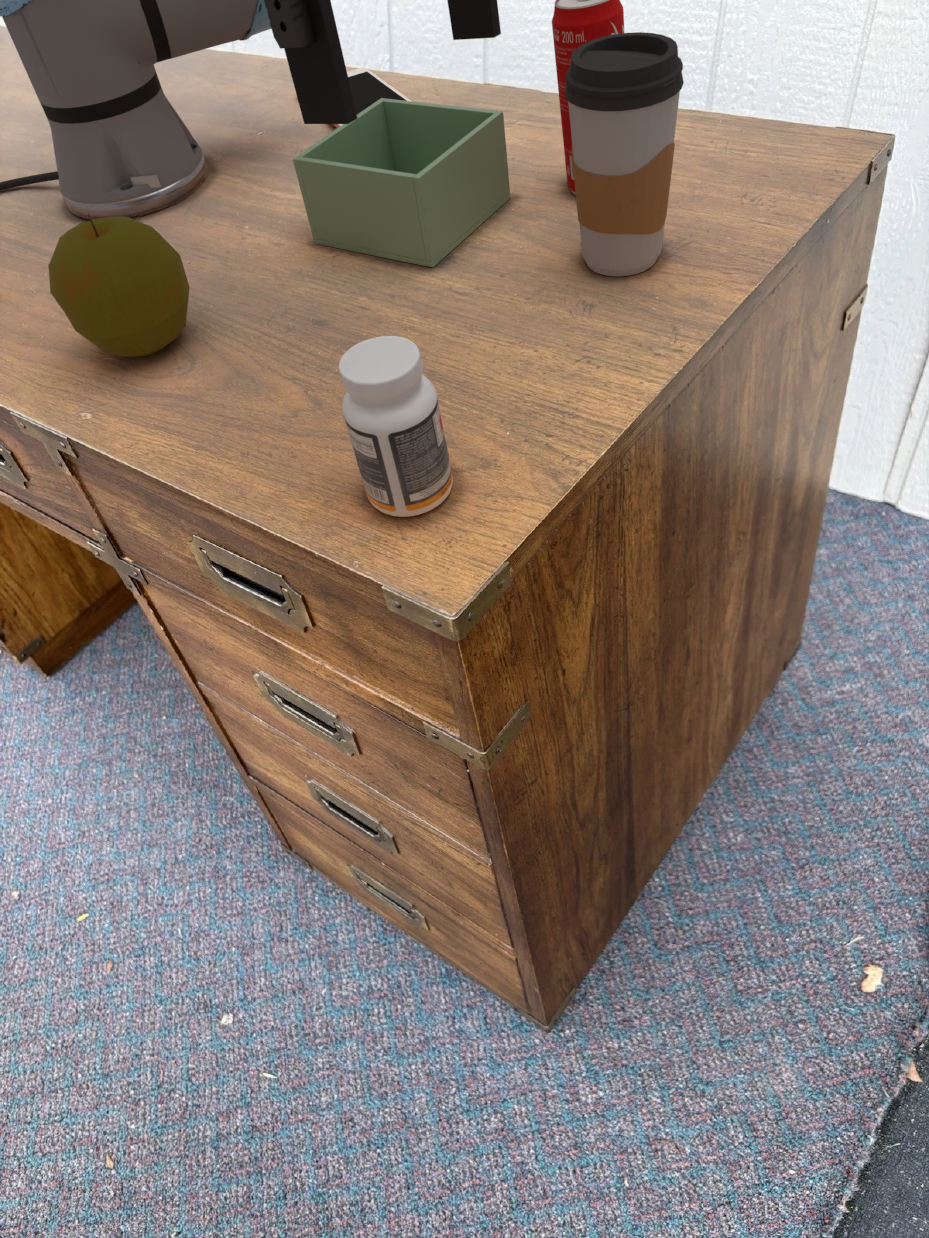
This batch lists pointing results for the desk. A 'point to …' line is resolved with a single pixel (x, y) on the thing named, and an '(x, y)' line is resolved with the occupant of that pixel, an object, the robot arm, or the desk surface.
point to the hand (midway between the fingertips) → (410, 77)
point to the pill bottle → (395, 426)
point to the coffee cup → (623, 146)
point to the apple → (120, 285)
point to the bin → (405, 179)
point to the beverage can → (577, 19)
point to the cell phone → (369, 89)
